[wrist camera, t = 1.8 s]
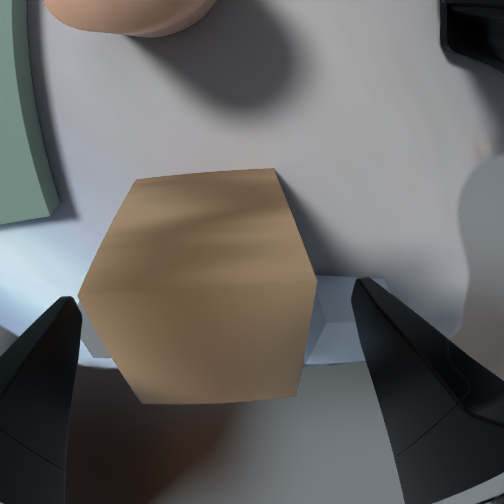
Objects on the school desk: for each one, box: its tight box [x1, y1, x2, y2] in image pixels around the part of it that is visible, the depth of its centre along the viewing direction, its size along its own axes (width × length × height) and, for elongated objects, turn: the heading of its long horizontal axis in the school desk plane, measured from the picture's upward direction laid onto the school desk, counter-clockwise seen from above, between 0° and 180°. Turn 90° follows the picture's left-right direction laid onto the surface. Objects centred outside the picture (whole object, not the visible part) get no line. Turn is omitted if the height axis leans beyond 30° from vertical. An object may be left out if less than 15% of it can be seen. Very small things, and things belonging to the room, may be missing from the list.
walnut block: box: [78, 168, 317, 404], centre depth 10 cm, size 5×5×6 cm
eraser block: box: [304, 275, 392, 365], centre depth 14 cm, size 4×3×3 cm
